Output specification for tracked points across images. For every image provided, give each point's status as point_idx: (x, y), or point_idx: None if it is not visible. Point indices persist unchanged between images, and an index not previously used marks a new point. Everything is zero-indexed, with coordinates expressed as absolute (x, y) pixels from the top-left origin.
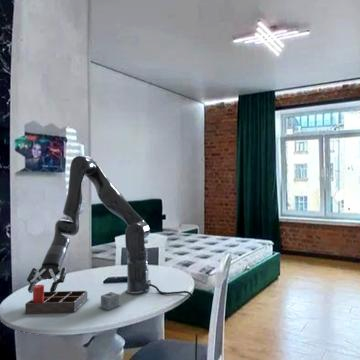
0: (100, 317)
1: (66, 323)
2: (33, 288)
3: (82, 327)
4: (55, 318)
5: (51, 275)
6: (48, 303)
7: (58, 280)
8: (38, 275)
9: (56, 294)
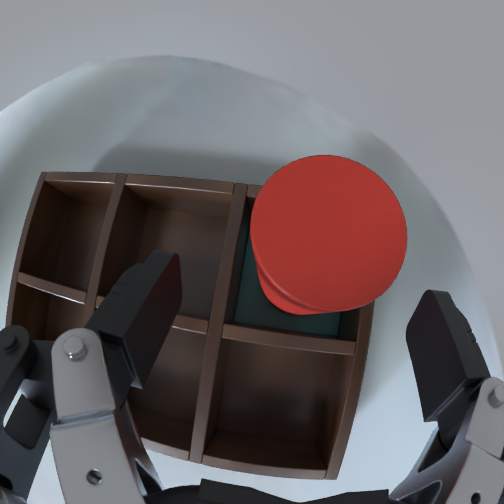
0: (11, 140)
1: (105, 92)
2: (377, 181)
3: (65, 75)
4: (151, 133)
5: (125, 468)
6: (190, 179)
7: (49, 356)
8: (470, 488)
9: (196, 419)
